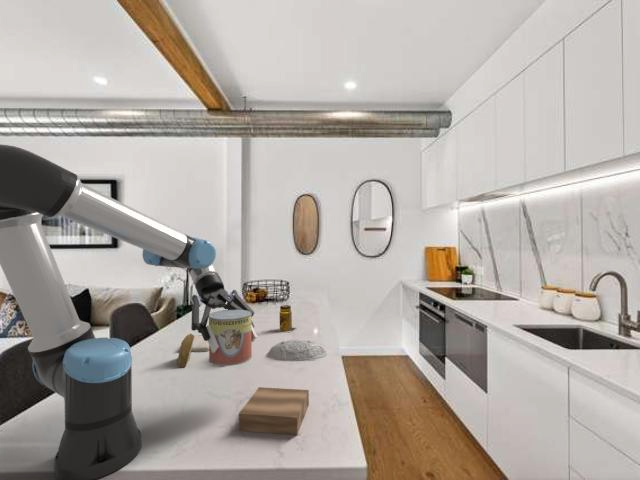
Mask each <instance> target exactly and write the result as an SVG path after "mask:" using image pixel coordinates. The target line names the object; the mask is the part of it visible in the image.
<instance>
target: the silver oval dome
mask: <svg viewBox="0 0 640 480" xmlns="http://www.w3.org/2000/svg"><path fill="white" fill-rule="evenodd" d="M266 355H267V357H268V358H269V359H272V360H275V361H289V362H308V361H319V360H322V359H324V358H326V356H327V351H326V349H325V348H324V346H323V345H321V344H320V343H318V342H316V341H313V340H310V339H289V340H283V341H281V342H279V343H275V345H273V346H271V348H269V350H268V352H266Z"/></svg>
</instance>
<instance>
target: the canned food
mask: <svg viewBox="0 0 640 480" xmlns="http://www.w3.org/2000/svg"><path fill="white" fill-rule="evenodd" d="M251 315H252V313H251V312H250V311H247V310H228V309H223V310H219V311H218V310H217V311H214V312H210V314H209V318H208V325H210V327H211V330H212V332H213V334H214V336H215V338H216V341H217V343H218V346H219V347H218V349H217V350H216V352H215V353H212V351H211V348H210V346H209V351H208V353H209V354H208V362H209V363H210V364H212V365H214V366H219V367H229V366H237V365H242V364H245V363H247V362H249V361H250V360H251V359H252V358H253V354H252V351H253V349H252V343H253V342H251V320H252V318H251Z"/></svg>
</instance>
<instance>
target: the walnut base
mask: <svg viewBox="0 0 640 480" xmlns="http://www.w3.org/2000/svg"><path fill="white" fill-rule="evenodd" d="M309 394H310V393H309V389H295V388H294V389H293V388H292V389H291V388H280V387H276V388H275V387H264V386H263V387H262V386H261V387H260V386H259V387H258V388H257V389H256V390H255V392H254V393H253V394H252V396H250V398H249V399H248V401H247V402H246V403H245V405H244V406H243V408H242V409H241V410H240V411H239V413H238V430H239V431H242V432H243V431H244V432H253V433H254V432H255V433H267V434H268V433H269V434H281V435H292V436H295V435H296V436H298V435H299V431H300V429H301V426H302V424H303V421H304V418H305V416H306V413H307V411H308V408H309V405H310V404H309V402H310V398H309V397H310V396H309Z"/></svg>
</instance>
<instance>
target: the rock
mask: <svg viewBox="0 0 640 480" xmlns="http://www.w3.org/2000/svg"><path fill="white" fill-rule="evenodd" d="M194 336H195V335H194V334H193V333H189V334H187V335H186V336H185V337H184V339H183V340H182V341H181V344H180V346H179V349H178V357H177V360H176V363H177V365H178V367H179V368H186V367H187V365H188V362H189V361H190V359H191V355H192V354H191V353H192V352H191V349H192V345H193V340H194Z"/></svg>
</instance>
